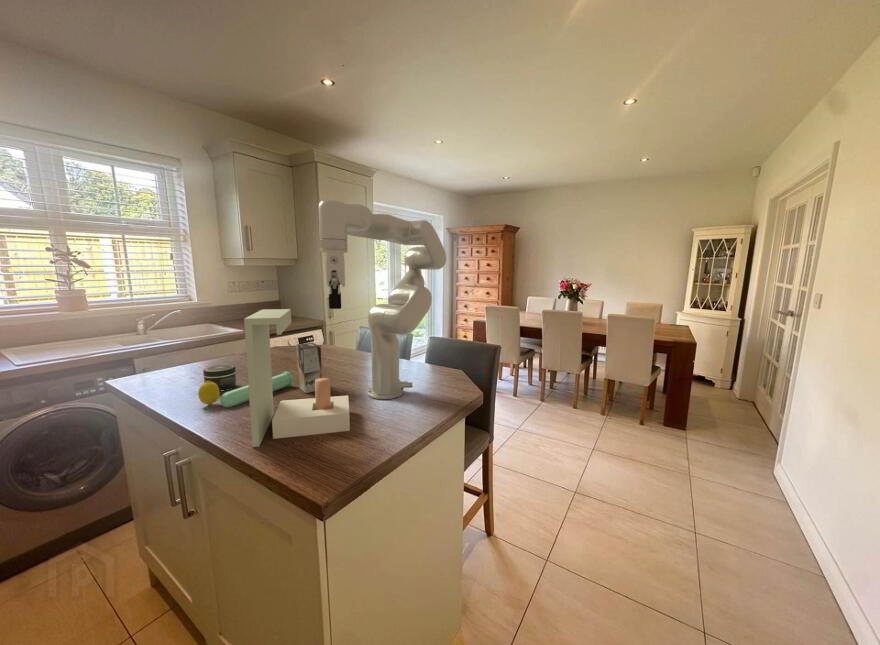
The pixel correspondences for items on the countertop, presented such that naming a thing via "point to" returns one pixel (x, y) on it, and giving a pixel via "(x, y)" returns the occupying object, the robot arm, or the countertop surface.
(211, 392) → the lemon
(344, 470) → the countertop surface
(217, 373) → the jar
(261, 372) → the grey hook bracket
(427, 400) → the countertop surface
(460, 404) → the countertop surface
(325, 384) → the peg
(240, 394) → the container
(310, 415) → the socket block
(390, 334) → the robot arm
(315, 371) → the coffee box
